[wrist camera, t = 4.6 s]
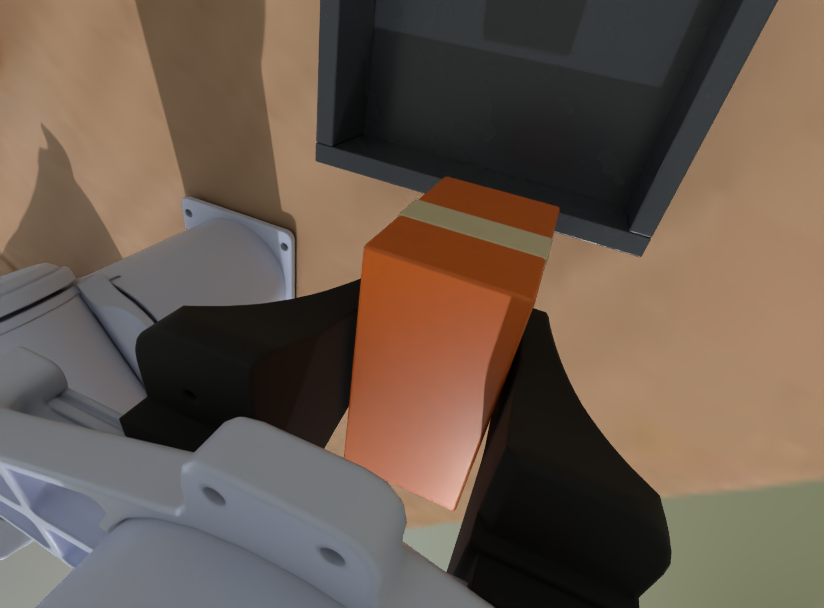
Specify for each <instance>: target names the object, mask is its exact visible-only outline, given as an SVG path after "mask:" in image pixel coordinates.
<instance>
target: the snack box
mask: <svg viewBox="0 0 824 608" xmlns="http://www.w3.org/2000/svg"><path fill="white" fill-rule="evenodd" d="M559 211H560V208H559V207H558V206H554V205H550V204H547V203H543V202H539V201H536V200H532V199H528V198H525V197H521V196H517V195H514V194H510V193H506V192H503V191H499V190H495V189H492V188H488V187H484V186H481V185H477V184H473V183H469V182H466V181H462V180H458V179H455V178H451V177H444V178H443V179H442V180H441V181H440V182H439V183H437V184H436V185H435V186H434V187H433V188H432V189H430V190H429V191H428V192H427V193H426V194H424V195H423V196H422V197H421V198H420V199H419V200H415V201H414V202H413V203H412V204H410V205H409V206H408V207H407V208H406V209H404V210H403V211H402V212H401V213H400V214H399V215H398V218H396V219H395V220H394V221H393V222H392V223H390V224H389V225H388V226H387V227H386V228H385V229H383V230H382V231H381V232H380V233H379V234H378V235H376V236H375V237H374V238H373V239H372V240H371V241H369V242H368V243H367V244H366V245H365V246H364V253H363V263H362V274H361V284H360V295H359V305H358V316H357V327H356V337H355V348H354V358H353V369H352V379H351V390H350V401H349V411H348V422H347V432H346V443H345V453H344V458H345V459H347V460H349V461H352V462H354V463H356V464H358V465H361V466H363V467H365V468H367V469H368V470H370V471H371V472H373V473H374V474H376V475H377V476H379V477H381V478H382V479H384V480H386V481H388V482H390V483H392V484H395V485H397V486H399V487H401V488H403V489H406V490H408V491H410V492H412V493H414V494H417V495H419V496H421V497H423V498H425V499H428V500H430V501H432V502H434V503H436V504H439V505H441V506H443V507H445V508H447V509H450V510H452V511H454V510H455V509H456V508H457V505H458V502H459V500H460V497H461V495H462V492H463V489H464V487H465V484H466V482H467V479H468V476H469V474H470V471H471V468H472V466H473V463H474V461H475V458H476V455H477V453H478V450H479V448H480V445H481V442H482V440H483V437H484V435H485V432H486V429H487V427H488V424H489V421H490V419H491V416H492V414H493V411H494V408H495V406H496V403H497V401H498V398H499V395H500V393H501V390H502V388H503V385H504V382H505V380H506V377H507V374H508V372H509V369H510V367H511V364H512V361H513V359H514V356H515V354H516V351H517V348H518V346H519V343H520V341H521V338H522V335H523V333H524V330H525V327H526V325H527V322H528V320H529V317H530V314H531V312H532V309H533V307H534V304H535V301H536V297H537V293H538V290H539V286H540V282H541V278H542V275H543V271H544V268H545V266H546V263H547V260H548V257H549V253H550V249H551V245H552V237H553V233H554V230H555V226H556V222H557V218H558V215H559Z"/></svg>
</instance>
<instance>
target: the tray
mask: <svg viewBox="0 0 824 608" xmlns="http://www.w3.org/2000/svg"><path fill="white" fill-rule="evenodd" d="M777 1H778V0H320V32H319V67H318V102H317V137H316V141H317V143H316V161H317V162H321V163H324V164H327V165H331V166H334V167H337V168H341V169H344V170H348V171H351V172H354V173H358V174H361V175H364V176H368V177H371V178H374V179H378V180H381V181H385V182H388V183H391V184H395V185H398V186H401V187H405V188H408V189H412V190H415V191H418V192H422V193H425V194H426V193H427V192H428V191H429V190H430V189H432V188H433V187H434V186H435V185H436V184H437V183H439V182H440V181H441V180H442V179H443V178H444V177H451V178H455V179H458V180H462V181H466V182H469V183H473V184H477V185H481V186H484V187H488V188H492V189H495V190H499V191H503V192H506V193H510V194H514V195H517V196H521V197H525V198H528V199H532V200H536V201H539V202H543V203H547V204H550V205H554V206H558V207H559V208H560V211H559V215H558V218H557V222H556V226H555V230H554V232H556V233H560V234H563V235H566V236H570V237H573V238H577V239H580V240H583V241H587V242H590V243H593V244H597V245H600V246H603V247H607V248H610V249H614V250H617V251H620V252H624V253H627V254H630V255H634V256H637V257H641V256H642V255H643V253H644V251H645V249H646V247H647V245H648V243H649V242H650V240H651V238H650V237H652V236H653V234H654V232H655V230H656V228H657V226H658V225H659V223H660V221H661V219H662V217H663V215H664V213H665V211H666V210H667V208H668V206H669V204H670V202H671V200H672V198H673V196H674V195H675V193H676V191H677V189H678V187H679V185H680V183H681V181H682V180H683V178H684V176H685V174H686V172H687V170H688V168H689V166H690V165H691V163H692V161H693V159H694V157H695V155H696V153H697V151H698V150H699V148H700V146H701V144H702V142H703V140H704V138H705V136H706V135H707V133H708V131H709V129H710V127H711V125H712V123H713V121H714V120H715V118H716V116H717V114H718V112H719V110H720V108H721V106H722V105H723V103H724V101H725V99H726V97H727V95H728V93H729V91H730V90H731V88H732V86H733V84H734V82H735V80H736V78H737V76H738V75H739V73H740V71H741V69H742V67H743V65H744V63H745V61H746V59H747V58H748V56H749V54H750V52H751V50H752V48H753V46H754V44H755V43H756V41H757V39H758V37H759V35H760V33H761V31H762V29H763V28H764V26H765V24H766V22H767V20H768V18H769V16H770V14H771V13H772V11H773V9H774V7H775V5H776V3H777Z"/></svg>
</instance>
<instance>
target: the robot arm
mask: <svg viewBox="0 0 824 608" xmlns="http://www.w3.org/2000/svg"><path fill="white" fill-rule="evenodd" d="M182 208H183V214H184V220H185V226H186V231H183V232H181V233H179V234H177V235H175V236H172V237H170V238H168V239H166V240H163V241H161V242H159V243H157V244H155V245H152V246H150V247H148V248H146V249H144V250H141V251H139V252H137V253H135V254H133V255H130V256H128V257H126V258H124V259H121V260H119V261H117V262H115V263H113V264H110V265H108V266H106V267H104V268H102V269H99V270H97V271H95V272H93V273H91V274H88V275H86V276H84V277H80V278H76V277H75V275H74V274H73V272H72V270H71V269H70V268H69V267H66V266H62V267H59V266H57V265H54V264H50V263H46V262H45V263H40V264H36V265H33V266H30V267H26V268H23V269H20V270H17V271H14V272H12V273H9V274H6V275H3V276H0V560H2V559H5V558H7V557H8V556H10V555H11V554H13V553H14V552H16V551H17V550H19V549H21V548H23V547H25V546H27V545H29V544H30V543H32V542H33V541H35V542H37V543H38V544H39V545H41V546H42V547H43V548H45V549H46V550H48V551H49V552H50V553H52V554H53V555H55V556H56V557H57V558H59V559H60V560H62V561H63V562H64V563H66V564H67V565H69V566H70V567H71V568H72V569H74V570H73V571H72V572H71V573H70V574H69V575H68V576H67V577H66V578H65V579H64V580H63V581H62V582H61V583H60V584H59V585H58V586H57V587H56V588H55V589H54V590H53V591H52V592H51V593H50V594H49V595H48V596H47V597H46V598H45V599H44V600H43V601H42V602H41V603H40V604H39V605H38V606H37V607H36V608H639V597H640V596H641V595H642V594H643V593H644V592H645V591H646V590H647V589H648V588H650V587H651V586H652V585H653V584H654V583H655V582H656V581H657V580H658V579H659V578H660V577H661V576H662V575H664V573H665V571H666V570H667V568H668V567H669V565H670V563H671V546H670V538H669V531H668V527H667V522H666V517H665V514H664V510H663V507H662V503H661V499H660V495H659V494H658V493H657V492H656V491H655V490H654V489H653V488H652V487H651V486H650V485H649V484H648V483H647V482H646V481H645V480H643V479H642V478H641V477H640V476H639V475H638V474H637V473H636V472H635V471H634V470H633V469H632V468H631V467H630V466H629V464H628V463H627V462H626V461H625V460H624V459H623V458H622V457H621V455H620V454H619V453H618V452H617V451H616V450H615V449H614V447H613V446H612V445H611V444H610V443H609V441H608V440H607V439H606V438H605V436H604V435H603V434H602V433H601V431H600V430H599V428H598V427H597V426H596V424H595V423H594V422H593V420H592V419H591V417H590V416H589V415H588V413H587V411H586V410H585V408H584V407H583V405H582V404H581V402H580V400H579V398H578V397H577V395H576V393H575V391H574V389H573V387H572V385H571V383H570V381H569V379H568V377H567V374H566V372H565V370H564V368H563V365H562V363H561V360H560V357H559V354H558V351H557V349H556V346H555V342H554V339H553V335H552V332H551V328H550V323H549V317H548V315H547V313H546V312H543V311H540V310H537V309H534V308H533V309H532V312H531V314H530V317H529V320H528V322H527V325H526V327H525V330H524V333H523V335H522V338H521V341H520V343H519V346H518V348H517V351H516V354H515V356H514V359H513V361H512V364H511V367H510V369H509V372H508V374H507V377H506V380H505V382H504V385H503V388H502V390H501V393H500V395H499V398H498V401H497V403H496V406H495V408H494V411H493V414H492V416H491V420H490V425H489V430H488V435H487V440H486V445H485V449H484V453H483V457H482V461H481V464H480V468H479V471H478V474H477V477H476V481H475V484H474V487H473V490H472V493H471V497H470V500H469V503H468V506H467V509H466V513H465V516H464V519H463V522H462V525H461V529H460V532H459V535H458V538H457V541H456V544H455V548H454V551H453V554H452V557H451V560H450V563H449V566H448V569H447V572H445V571H443V570H442V569H440V568H439V567H438V566H436V565H435V564H434V563H432V562H431V561H429V560H428V559H427V558H425V557H424V556H422V555H421V554H419V553H418V552H417V551H415V550H414V549H413V548H411V547H410V546H408V545H407V544H406V543H404V542H403V541H402V539H403V534H404V530H405V526H406V523H407V521H406V515H405V509H404V504H403V502H402V500H401V498H400V497H399V496H398V495H397V494H396V492H395V491H394V490H393V489H392V487H391V486H390V485H389V484H388V482H387V481H385V480H384V479H382V478H381V477H379V476H377V475H376V474H374V473H373V472H371V471H370V470H368V469H367V468H365V467H363V466H361V465H358V464H356V463H354V462H352V461H349V460H347V459H345V458H343V457H341V456H338V455H336V454H334V453H332V452H330V451H327V450H325V449H324V448H325V446H326V444H327V443H328V441H329V439H330V437H331V436H332V434H333V432H334V430H335V429H336V427H337V425H338V424H339V422H340V420H341V419H342V417H343V415H344V413H345V412H346V410H347V408H348V407H349V401H350V390H351V379H352V369H353V358H354V348H355V337H356V327H357V316H358V305H359V295H360V284H361V279H358V280H356V281H353V282H351V283H348V284H345V285H342V286H339V287H336V288H333V289H330V290H327V291H323V292H320V293H316V294H312V295H308V296H304V297H299V298H295V238H294V235H293V233H292V232H291V231H289V230H287V229H285V228H282V227H279V226H276V225H273V224H270V223H267V222H264V221H261V220H258V219H255V218H252V217H249V216H247V215H244V214H241V213H238V212H235V211H232V210H229V209H226V208H223V207H220V206H217V205H214V204H211V203H209V202H206V201H203V200H200V199H197V198H194V197H191V196H188V197H185V198H183V199H182ZM191 212H192V213H191ZM284 243H285V244H286V245H287V246H288V248H287V247H286V246H285V244H284Z"/></svg>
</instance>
